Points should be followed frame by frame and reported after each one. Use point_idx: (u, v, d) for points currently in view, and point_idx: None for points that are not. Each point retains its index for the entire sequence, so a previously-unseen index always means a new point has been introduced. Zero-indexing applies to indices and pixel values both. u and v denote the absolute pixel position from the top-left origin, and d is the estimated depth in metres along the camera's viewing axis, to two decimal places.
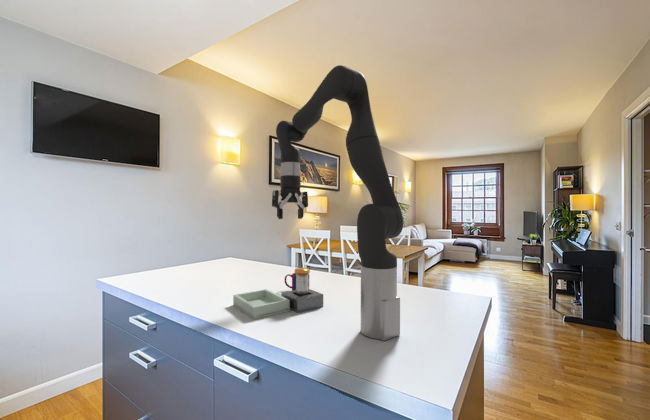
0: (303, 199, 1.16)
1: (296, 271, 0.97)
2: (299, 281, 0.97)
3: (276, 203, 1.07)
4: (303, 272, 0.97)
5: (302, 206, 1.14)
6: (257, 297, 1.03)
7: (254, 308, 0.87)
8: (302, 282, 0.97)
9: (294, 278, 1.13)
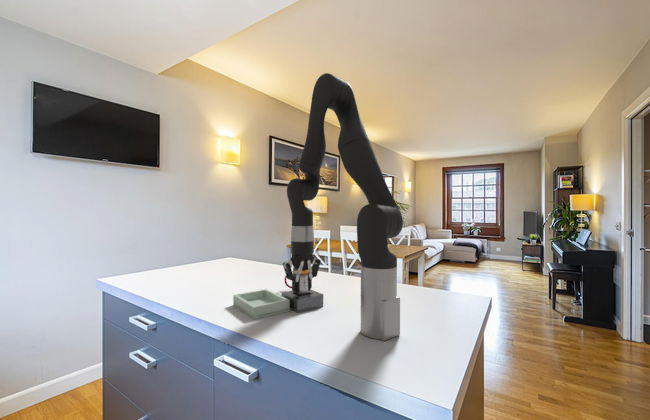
0: (313, 267, 1.02)
1: (296, 271, 0.97)
2: (299, 281, 0.97)
3: (292, 277, 0.95)
4: (303, 272, 0.97)
5: (310, 277, 1.00)
6: (257, 297, 1.03)
7: (254, 308, 0.87)
8: (302, 282, 0.97)
9: None
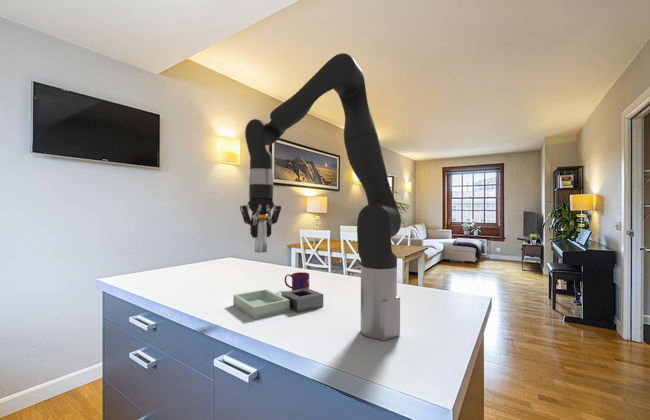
0: (274, 213, 0.99)
1: (254, 215, 0.95)
2: (257, 225, 0.95)
3: (249, 220, 0.93)
4: (261, 216, 0.94)
5: (269, 222, 0.97)
6: (257, 297, 1.03)
7: (254, 308, 0.87)
8: (260, 227, 0.94)
9: (294, 278, 1.13)
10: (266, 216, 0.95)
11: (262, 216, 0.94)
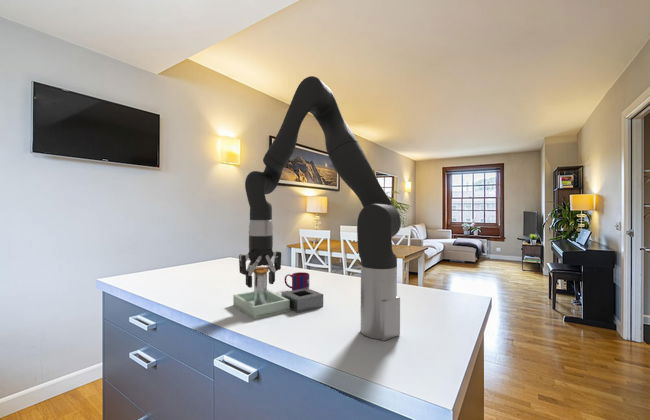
0: (276, 260, 1.00)
1: None
2: (256, 280, 0.95)
3: (244, 270, 0.92)
4: (260, 271, 0.94)
5: (273, 270, 0.98)
6: None
7: (254, 308, 0.87)
8: (259, 282, 0.94)
9: (294, 278, 1.13)
10: (266, 271, 0.95)
11: (262, 271, 0.94)
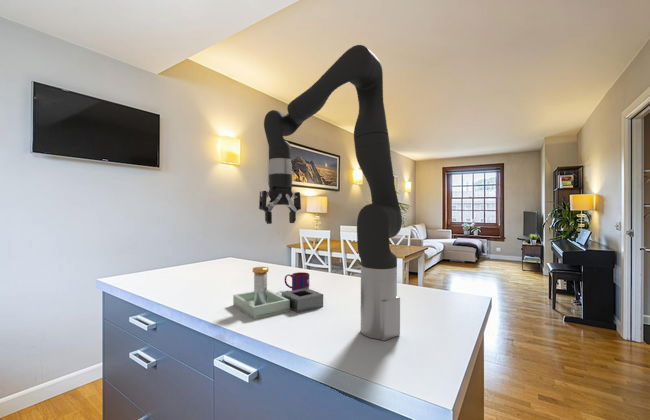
0: (295, 201, 1.01)
1: (253, 270, 0.95)
2: (256, 280, 0.95)
3: (264, 206, 0.93)
4: (260, 271, 0.94)
5: (294, 209, 1.00)
6: None
7: (254, 308, 0.87)
8: (259, 282, 0.94)
9: (294, 278, 1.13)
10: (266, 271, 0.95)
11: (262, 271, 0.94)
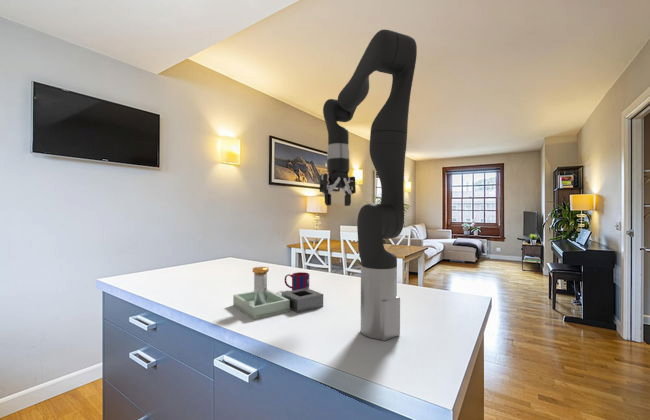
0: (350, 185, 1.07)
1: (253, 270, 0.95)
2: (256, 280, 0.95)
3: (325, 188, 0.98)
4: (260, 271, 0.94)
5: (350, 192, 1.05)
6: None
7: (254, 308, 0.87)
8: (259, 282, 0.94)
9: (294, 278, 1.13)
10: (266, 271, 0.95)
11: (262, 271, 0.94)
